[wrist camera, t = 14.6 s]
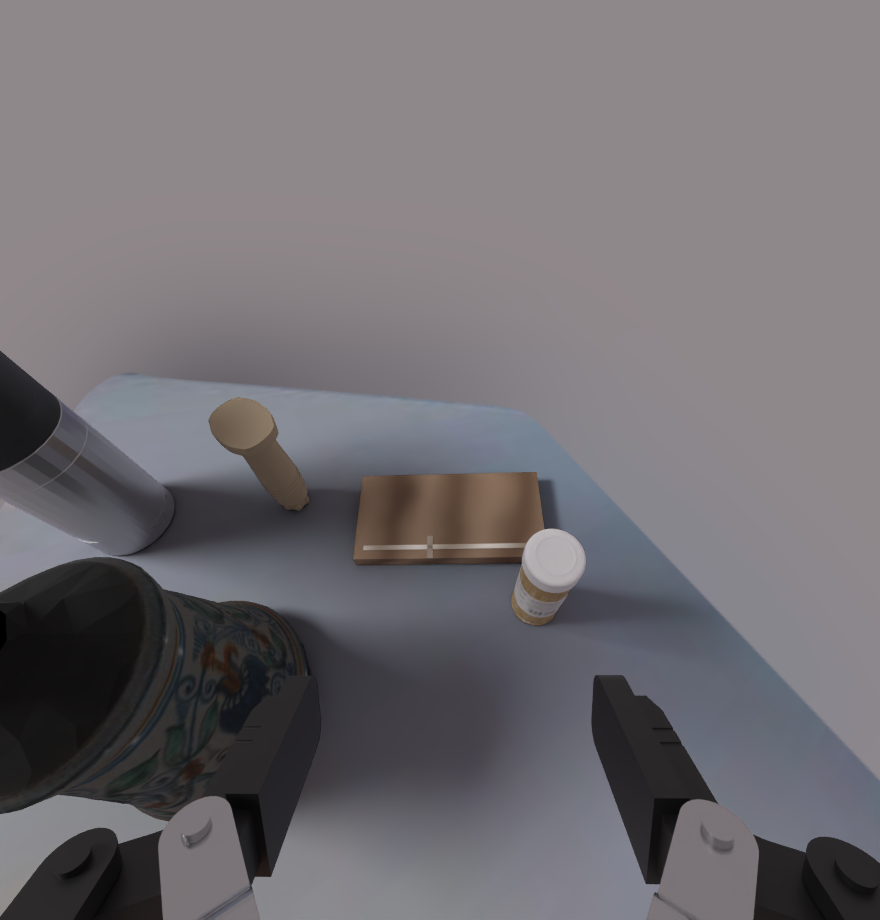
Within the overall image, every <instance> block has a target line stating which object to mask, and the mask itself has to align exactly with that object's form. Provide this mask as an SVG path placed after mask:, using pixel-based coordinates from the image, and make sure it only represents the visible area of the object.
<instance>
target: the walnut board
mask: <svg viewBox="0 0 880 920" xmlns="http://www.w3.org/2000/svg"><path fill="white" fill-rule="evenodd" d="M541 530H544V523H543V516H542V508H541V501H540V493H539V486H538V478H537V472H521V473H479V474H438V475H397V476H363V479H362V487H361V496H360V504H359V512H358V521H357V529H356V538H355V546H354V555H353V560H354V562H355V563H356V565H410V564H483V563H522V556H523V552H524V549H525V546H526V544H527V542H528V540H529V539H530V538H531V537H532V536H533V535H534V534H535V533H537V532H539V531H541Z"/></svg>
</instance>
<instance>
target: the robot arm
mask: <svg viewBox="0 0 880 920" xmlns="http://www.w3.org/2000/svg"><path fill="white" fill-rule="evenodd" d="M0 499H1V500H3V501H5V502H7V503H9V504H11V505H13V506H15V507H17V508H19V509H21V510H23V511H24V512H26V513H28V514H30V515H32V516H34V517H36V518H38V519H40V520H42V521H44V522H46V523H48V524H50V525H52V526H54V527H56V528H58V529H60V530H61V531H63V532H65V533H67V534H69V535H71V536H73V537H75V538H77V539H79V540H81V541H83V542H85V543H87V544H89V545H91V546H93V547H95V548H96V549H98V550H100V551H102V552H104V553H106V554H110V555H114V556H119V555H127V554H132V553H134V552H137V551H140V550H142V549H143V548H145V547H147V546H149V545H150V544H151V543H153V542H154V541H155V540H157V539H158V538H159V537H160V536H161V534H162V533H163V532H164V531H165V530H166V528H167V527H168V525H169V524H170V521H171V519H172V517H173V513H174V507H175V503H174V499H173V496H172V494H171V493H170V491H168V490H167V489H166V488H165V487H164V486H162V485H161V484H160V483H159V482H158V481H156V480H155V479H154V478H153V477H152V476H151V475H149V474H148V473H147V472H146V471H145V470H144V469H142V468H141V467H140V466H139V465H138V464H136V463H135V462H134V461H133V460H132V459H130V458H129V457H128V456H127V455H126V454H124V453H123V452H122V451H121V450H120V449H118V448H117V447H116V446H115V445H114V444H112V443H111V442H110V441H109V440H107V439H106V438H105V437H104V436H103V435H101V434H100V433H99V432H98V431H97V430H95V429H94V428H93V427H92V426H91V425H89V424H88V423H87V422H86V421H85V420H83V419H82V418H81V417H80V416H78V415H77V414H76V413H75V412H74V411H72V410H71V409H70V408H69V407H67V406H66V405H65V404H64V403H63V402H61V401H60V400H59V399H58V398H57V397H55V396H54V395H53V394H52V393H50V392H49V391H48V390H46V389H45V388H44V387H43V386H42V385H41V384H39V383H38V382H37V381H36V380H34V379H33V378H32V377H31V376H30V375H28V374H27V373H26V372H25V371H24V370H22V369H21V368H20V367H19V366H18V365H16V364H15V363H14V362H13V361H12V360H10V359H9V358H8V357H7V356H6V355H5V354H3V353H2V352H1V351H0ZM320 732H321V715H320V706H319V697H318V687H317V680H316V677H315V676H288V677H287V678H286V680H285V682H284V684H283V685H282V687H281V689H280V691H279V693H278V695H277V696H267V697H265V698H264V699H263V700H262V701H261V702H260V703H259V704H258V705H257V706H256V707H255V708H254V709H252V711H251V713H250V714H249V716H248V718H247V719H246V721H245V723H244V725H243V726H242V730H240V732H239V733H238V735H237V737H236V738H235V741H234V744H232V745H231V747H230V749H229V751H228V752H227V754H226V756H225V757H224V759H223V761H222V763H221V764H220V766H219V768H218V769H217V771H216V773H215V775H214V776H213V778H212V780H211V782H210V783H209V785H208V787H207V788H206V790H205V792H204V794H203V795H202V797H201V798H200V799H198V800H196V801H194V802H192V803H190V804H188V805H187V806H185V807H184V808H182V809H181V810H180V811H179V812H178V813H176V814H175V815H174V816H173V817H172V819H171V820H170V821H169V822H168V824H167V825H166V826H165V828H164V829H163V830H161V831H159V832H156V833H153V834H150V835H146V836H143V837H140V838H137V839H133V840H130V841H127V842H124V843H121V844H118V841H117V837H116V834H115V833H114V832H113V831H112V830H110V829H107V828H95V829H91V830H87V831H85V832H82V833H80V834H78V835H76V836H74V837H72V838H71V839H69V840H67V841H66V842H64V843H63V844H62V845H60V846H59V847H58V848H57V849H55V850H54V851H53V852H52V853H51V854H50V855H49V856H48V857H47V858H46V859H45V860H44V861H43V862H42V864H41V865H40V866H39V867H38V869H37V870H36V871H35V872H34V874H33V875H32V876H31V878H30V879H29V880H28V882H27V883H26V884H25V885H24V887H23V888H22V889H21V891H20V892H19V893H18V895H17V896H16V897H15V898H14V900H13V901H12V902H11V904H10V905H9V906H8V908H7V909H6V910H5V911H4V913H3V914H2V915H1V917H0V920H260V917H259V913H258V909H257V905H256V901H255V897H254V893H253V889H252V887H251V885H252V883H253V880H254V877H271V875H272V872H273V870H274V867H275V864H276V861H277V858H278V856H279V853H280V850H281V847H282V844H283V842H284V839H285V836H286V833H287V830H288V827H289V825H290V822H291V819H292V816H293V813H294V811H295V808H296V805H297V802H298V799H299V797H300V794H301V791H302V788H303V785H304V782H305V780H306V777H307V774H308V771H309V768H310V766H311V763H312V760H313V757H314V754H315V752H316V749H317V746H318V742H319V738H320ZM592 733H593V738H594V743H595V746H596V749H597V752H598V755H599V757H600V760H601V763H602V765H603V768H604V771H605V774H606V776H607V779H608V782H609V785H610V787H611V790H612V793H613V795H614V798H615V801H616V804H617V806H618V809H619V812H620V815H621V817H622V820H623V823H624V825H625V828H626V831H627V834H628V836H629V839H630V842H631V845H632V847H633V850H634V853H635V855H636V858H637V861H638V864H639V866H640V869H641V872H642V875H643V877H644V880H645V883H646V884H660V886H659V890H658V893H654V895H653V898H652V901H651V904H650V908H649V911H648V915H647V919H646V920H880V863H879V862H877V861H876V860H875V859H874V858H872V857H871V856H870V855H868V854H867V853H865V852H864V851H862V850H860V849H859V848H857V847H855V846H853V845H851V844H849V843H847V842H844V841H842V840H839V839H835V838H831V837H818V838H814V839H813V840H811V841H810V842H809V843H808V846H807V849H806V853H805V852H802V851H799V850H795V849H792V848H789V847H786V846H783V845H779V844H776V843H773V842H770V841H767V840H764V839H762V838H760V837H757V836H755V835H753V834H752V832H751V831H750V830H749V828H748V827H747V826H746V824H745V823H744V822H743V821H742V820H741V819H740V818H739V817H737V816H736V815H735V814H734V813H732V812H731V811H730V810H728V809H726V808H725V807H723V806H721V805H719V804H718V803H717V801H716V800H715V798H714V796H713V795H712V793H711V791H710V790H709V788H708V786H707V785H706V783H705V781H704V779H703V778H702V776H701V774H700V773H699V771H698V769H697V768H696V766H695V764H694V763H693V761H692V759H691V758H690V756H689V754H688V753H687V751H686V749H685V748H684V746H682V744H681V741H680V739H679V738H678V736H677V734H676V732H675V731H673V727H672V726H671V724H670V722H669V721H668V719H667V717H666V716H665V714H664V712H663V711H662V710H661V709H660V708H659V707H658V706H657V705H656V704H655V703H653V702H652V701H651V700H650V699H649V698H648V697H647V696H635V695H634V694H633V692H632V690H631V688H630V686H629V684H628V682H627V681H626V679H625V677H624V676H622V675H596V676H595V677H594V684H593V702H592Z"/></svg>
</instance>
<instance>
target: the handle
mask: <svg viewBox="0 0 880 920" xmlns="http://www.w3.org/2000/svg"><path fill="white" fill-rule="evenodd" d="M209 424H210V429H211V432H212V434H213V435H214V437H215V438H216V439H217V440H218V442H219V443H220V444H221V445H222V446H224V447H225V448H226V449H227V450H228V451H230V452H232V453H234V454H238V455H242V456H243V457H244V458H245V460H246V461H247V463H248V464H249V466H250V467H251V469H252V470H253V472H254V473H255V475H256V476H257V478H258V479H259V481H260V482H261V484H262V485H263V486H264V488H265V489H266V490H267V491H268V492H269V493H270V494H271V495H272V496H273V497H274V498H275V499H276V500H277V501H278V502H279V503H281V505H282V506H283V507H284V508H285V509H287V510H290V509H295V510H297V511H299V510H301V509H302V507H303V506H304V505H306V504H308V503H309V497H308V496H307V493H308V490H307V488H306V485H305V483H304V480H303V478H302V476H301V474H300V472H299V471H298V469H297V467H296V466H295V464H294V463H293V462H292V460H291V459H290V458H289V457H288V455H287V454H286V453H285V451H284V450H283V449H282V448H281V446H280V445H279V444H278V442H277V441H276V440H275V439H276V438H277V435H278V429H277V426H276V424H275V421H274V419H273V417H272V415H271V413H270V412H269V411H268V410H267V409H266V408H265V407H264V406H263V405H261V404H260V403H258V402H257V401H254V400H251V399H245V398H239V397H238V398H234V399H231V400H229V401H227V402H225V403H223V404H222V405H220V406H219V407H218V408H217V409H216V410H215V411H214V412H213V413H212V414H211V416H210V418H209Z"/></svg>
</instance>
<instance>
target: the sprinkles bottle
mask: <svg viewBox="0 0 880 920" xmlns="http://www.w3.org/2000/svg"><path fill="white" fill-rule="evenodd" d="M585 566H586V556H585V552H584V549H583V547H582V546H581V544H580V543H579V542H578V540H577V539H576V538H575V537H573V536H572V535H571V534H569V533H567V532H565V531H562V530H559V529H545V530H541V531H539V532H537V533H535V534H534V535H533V536H532V537H531V538H530V539H529V540H528V542H527V544H526V546H525V549H524V552H523V556H522V565H521V568H520V572H519V575H518V578H517V582H516V585H515V589H514V591H513V594H512V598H511V603H512V608H513V610H514V612H515V614H516V615H517V616H518V618H519V619H521V620H522V621H523V622H525V623H527V624H530V625H535V626H538V625H543V624H546V623H547V622H548V621H550V620H551V619H552V618H553V617H554V615H555V614H556V611H557V610H558V609H559V607H560V606H561V604H562V603H563V601H564V600H565V598H566V597H567V595H568V593H569V591H570V589H571V588H573V587H574V586H575V585H576V584H577V583H578V581H579V580H580V578H581V576H582V575H583V573H584V570H585Z"/></svg>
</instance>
